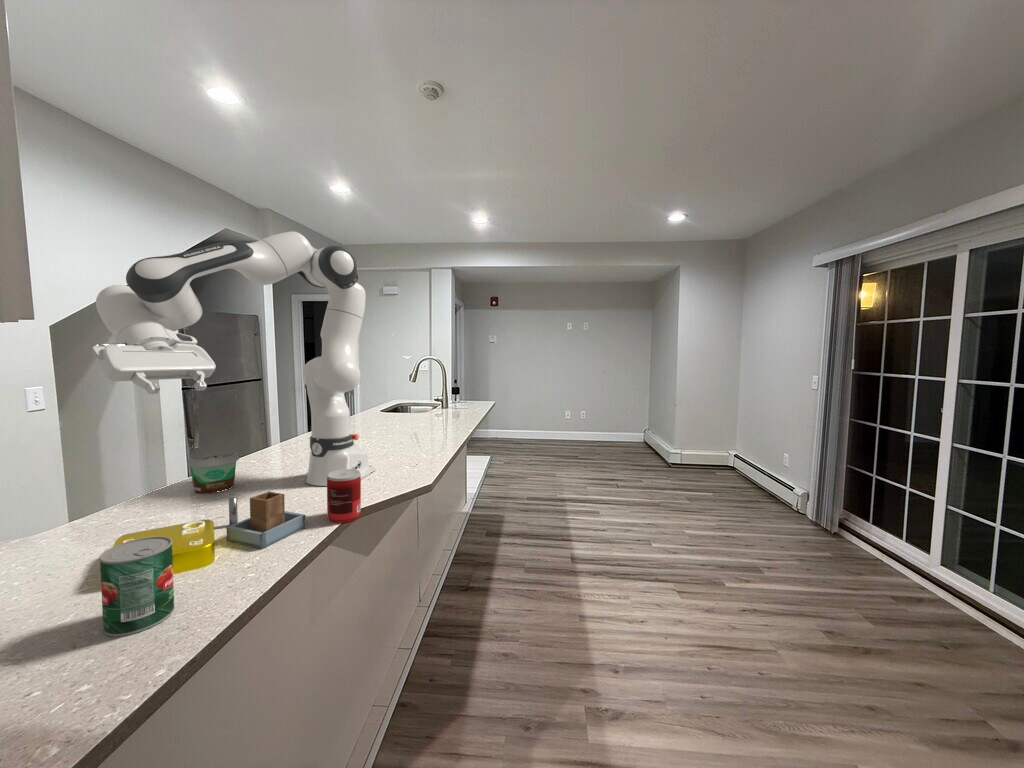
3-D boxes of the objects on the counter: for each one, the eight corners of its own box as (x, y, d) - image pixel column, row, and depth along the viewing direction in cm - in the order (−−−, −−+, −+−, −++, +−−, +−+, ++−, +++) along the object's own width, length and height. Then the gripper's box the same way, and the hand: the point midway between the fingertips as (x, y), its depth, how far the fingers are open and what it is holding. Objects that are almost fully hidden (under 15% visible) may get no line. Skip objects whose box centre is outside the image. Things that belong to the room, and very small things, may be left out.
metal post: (234, 523, 93) (233, 496, 92) (239, 524, 92) (238, 497, 92) (227, 526, 91) (226, 498, 91) (232, 527, 91) (232, 499, 90)
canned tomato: (91, 626, 58) (87, 553, 57) (157, 597, 65) (155, 532, 64) (119, 644, 54) (116, 567, 54) (186, 610, 62) (183, 542, 61)
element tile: (118, 556, 78) (117, 532, 77) (214, 536, 87) (213, 515, 87) (102, 593, 66) (101, 566, 66) (215, 566, 75) (214, 542, 75)
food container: (194, 498, 107) (193, 462, 106) (187, 493, 111) (186, 458, 110) (246, 487, 117) (245, 454, 116) (238, 482, 121) (237, 450, 120)
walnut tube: (269, 525, 91) (268, 491, 90) (284, 528, 89) (284, 494, 89) (250, 533, 86) (249, 498, 86) (266, 537, 85) (266, 501, 84)
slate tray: (272, 520, 95) (272, 508, 94) (305, 527, 92) (305, 514, 91) (226, 540, 84) (226, 527, 84) (262, 549, 81) (262, 535, 81)
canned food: (352, 508, 103) (352, 467, 103) (366, 517, 98) (366, 474, 97) (322, 516, 98) (321, 472, 97) (334, 526, 92) (334, 480, 92)
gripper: (93, 332, 79) (128, 383, 76) (201, 337, 98) (231, 378, 96) (81, 354, 80) (114, 404, 78) (189, 355, 100) (218, 395, 98)
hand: (179, 390), depth 87 cm, fingers open, 8 cm apart
